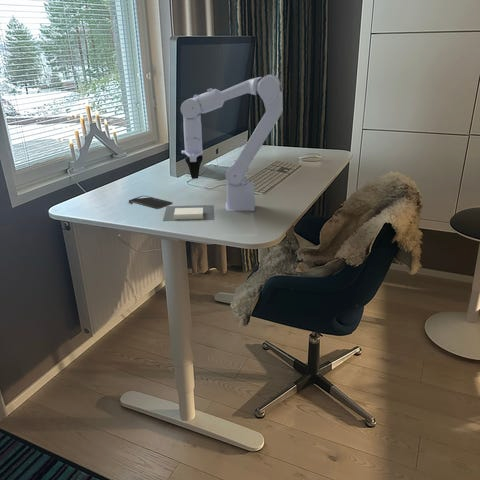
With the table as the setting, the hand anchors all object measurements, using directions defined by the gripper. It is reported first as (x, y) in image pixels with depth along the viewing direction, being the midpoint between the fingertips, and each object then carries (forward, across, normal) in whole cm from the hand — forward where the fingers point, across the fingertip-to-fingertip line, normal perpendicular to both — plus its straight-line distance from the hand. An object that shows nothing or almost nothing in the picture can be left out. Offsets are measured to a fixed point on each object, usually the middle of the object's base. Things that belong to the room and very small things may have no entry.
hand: (194, 178), depth 152 cm
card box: (+8, +8, -2) cm, 12 cm away
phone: (+10, -4, -16) cm, 20 cm away
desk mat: (+10, +8, -2) cm, 13 cm away
